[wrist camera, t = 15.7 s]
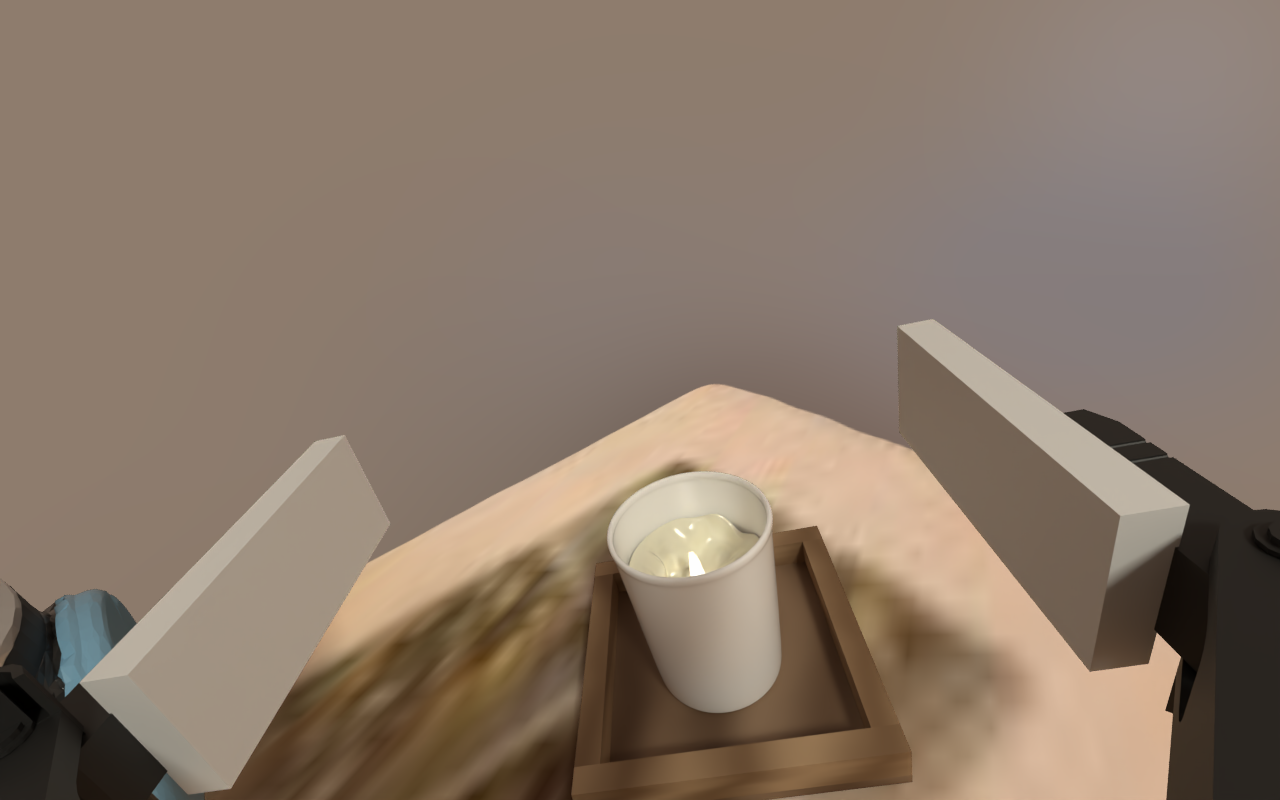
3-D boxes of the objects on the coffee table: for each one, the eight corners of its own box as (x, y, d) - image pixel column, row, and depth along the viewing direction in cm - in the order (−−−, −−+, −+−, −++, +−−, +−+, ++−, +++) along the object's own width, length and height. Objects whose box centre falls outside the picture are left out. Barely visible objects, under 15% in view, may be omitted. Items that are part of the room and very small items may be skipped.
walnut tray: (583, 822, 32) (571, 795, 31) (603, 586, 49) (596, 563, 47) (912, 781, 31) (911, 751, 29) (819, 550, 47) (817, 525, 46)
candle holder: (712, 582, 45) (684, 455, 40) (823, 645, 38) (806, 500, 33) (620, 669, 40) (574, 535, 35) (729, 760, 33) (691, 609, 28)
